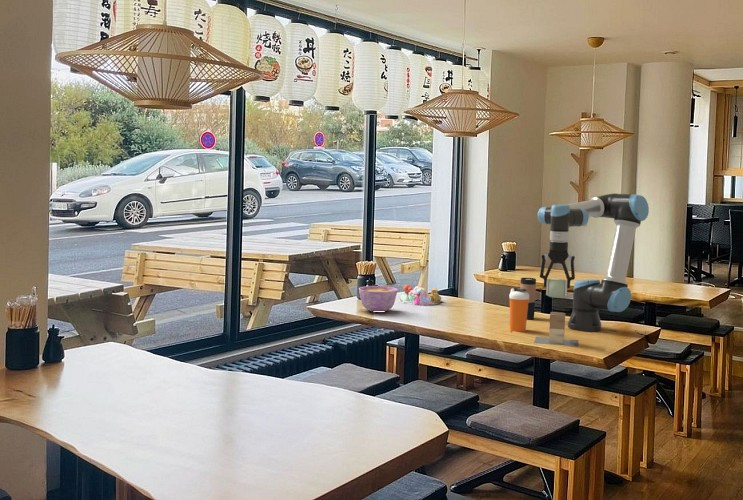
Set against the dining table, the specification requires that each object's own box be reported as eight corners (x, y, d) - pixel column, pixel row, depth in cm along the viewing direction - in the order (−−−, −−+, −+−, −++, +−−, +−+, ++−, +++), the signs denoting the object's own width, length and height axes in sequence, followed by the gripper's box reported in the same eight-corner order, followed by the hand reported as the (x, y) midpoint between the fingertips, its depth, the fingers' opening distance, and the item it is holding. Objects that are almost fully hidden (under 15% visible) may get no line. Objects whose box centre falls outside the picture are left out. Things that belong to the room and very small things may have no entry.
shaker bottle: (523, 335, 342) (525, 290, 340) (504, 332, 347) (506, 288, 344) (530, 331, 349) (532, 288, 347) (512, 329, 354) (513, 286, 352)
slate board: (535, 338, 334) (536, 336, 334) (578, 342, 330) (578, 340, 329) (533, 345, 322) (533, 342, 322) (577, 349, 317) (577, 346, 317)
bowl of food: (350, 310, 392) (350, 288, 391) (378, 306, 405) (379, 284, 404) (376, 316, 377) (377, 293, 376) (405, 312, 390) (406, 289, 389)
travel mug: (518, 316, 385) (520, 277, 383) (533, 317, 384) (535, 277, 382) (519, 319, 378) (520, 279, 376) (535, 320, 377) (536, 280, 375)
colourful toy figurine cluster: (442, 299, 433) (443, 283, 432) (442, 307, 410) (443, 289, 409) (398, 298, 435) (398, 281, 434) (395, 305, 412) (396, 288, 411)
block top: (550, 325, 329) (550, 312, 328) (564, 326, 327) (565, 313, 326) (549, 328, 323) (550, 314, 322) (564, 329, 321) (564, 315, 321)
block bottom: (549, 339, 329) (550, 325, 329) (564, 340, 328) (564, 326, 327) (548, 342, 324) (549, 328, 323) (563, 343, 322) (564, 329, 321)
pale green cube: (548, 294, 328) (549, 278, 328) (565, 295, 326) (566, 279, 326) (547, 296, 322) (548, 280, 321) (564, 298, 320) (565, 281, 319)
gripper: (533, 241, 321) (531, 295, 323) (583, 243, 315) (580, 298, 317) (535, 239, 328) (533, 292, 330) (583, 241, 322) (581, 295, 325)
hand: (556, 295), depth 324 cm, fingers closed on pale green cube, 7 cm apart
